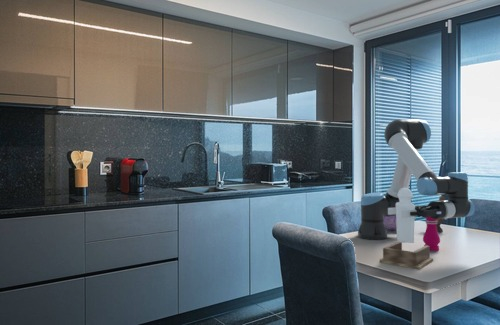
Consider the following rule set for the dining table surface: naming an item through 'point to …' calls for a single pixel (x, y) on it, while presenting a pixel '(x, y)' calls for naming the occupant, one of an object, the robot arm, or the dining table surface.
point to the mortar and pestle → (440, 219)
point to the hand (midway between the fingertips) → (395, 212)
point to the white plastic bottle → (405, 224)
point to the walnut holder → (406, 256)
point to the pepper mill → (431, 235)
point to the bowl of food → (390, 222)
